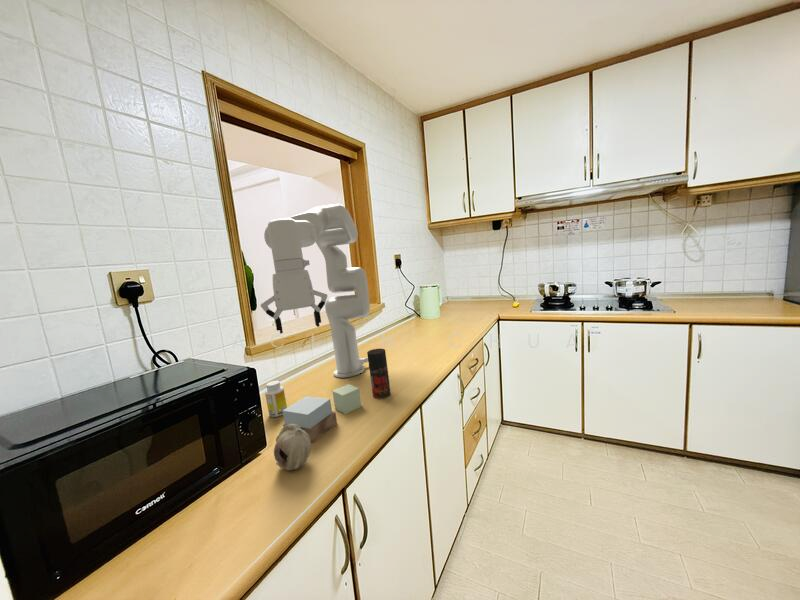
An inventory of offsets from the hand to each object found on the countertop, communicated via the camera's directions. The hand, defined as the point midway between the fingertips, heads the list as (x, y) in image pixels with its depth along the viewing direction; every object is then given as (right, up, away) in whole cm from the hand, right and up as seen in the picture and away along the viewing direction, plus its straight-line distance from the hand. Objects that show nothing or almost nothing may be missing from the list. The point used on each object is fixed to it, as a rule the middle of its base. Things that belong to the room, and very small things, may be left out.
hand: (299, 329), depth 89 cm
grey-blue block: (+2, -25, +1) cm, 25 cm away
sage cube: (+11, -26, +13) cm, 31 cm away
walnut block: (+3, -29, +2) cm, 29 cm away
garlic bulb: (+3, -31, -14) cm, 34 cm away
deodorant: (+21, -24, +19) cm, 37 cm away
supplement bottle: (-11, -28, +14) cm, 34 cm away
